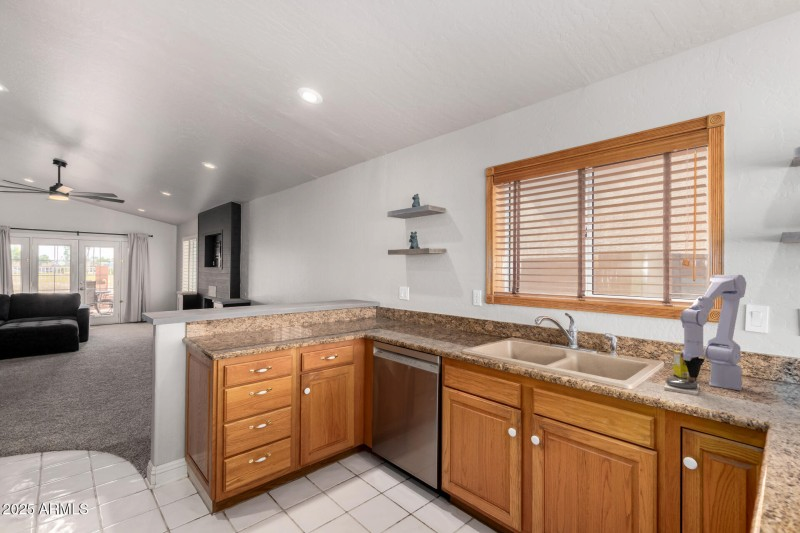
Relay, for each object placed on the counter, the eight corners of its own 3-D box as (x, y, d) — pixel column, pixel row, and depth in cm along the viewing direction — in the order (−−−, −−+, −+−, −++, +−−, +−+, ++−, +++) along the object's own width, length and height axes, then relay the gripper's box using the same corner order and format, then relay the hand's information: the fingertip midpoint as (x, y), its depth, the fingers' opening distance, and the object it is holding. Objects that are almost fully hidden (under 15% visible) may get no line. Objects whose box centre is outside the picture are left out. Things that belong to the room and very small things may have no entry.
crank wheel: (680, 389, 139) (680, 376, 139) (660, 381, 148) (660, 369, 148) (704, 388, 140) (704, 376, 140) (683, 381, 149) (683, 369, 149)
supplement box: (696, 380, 155) (696, 353, 155) (680, 379, 156) (680, 353, 156) (688, 376, 161) (688, 350, 161) (673, 375, 162) (673, 350, 162)
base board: (698, 387, 146) (698, 384, 146) (697, 395, 136) (697, 392, 136) (667, 382, 152) (667, 379, 152) (664, 389, 142) (664, 386, 142)
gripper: (688, 337, 149) (688, 372, 148) (673, 341, 140) (673, 377, 140) (710, 340, 143) (710, 376, 143) (696, 344, 135) (696, 382, 134)
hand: (693, 377), depth 141 cm, fingers closed
